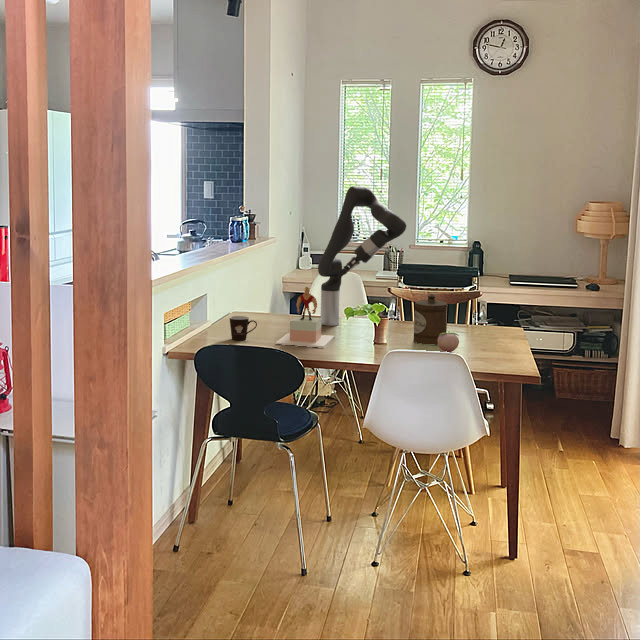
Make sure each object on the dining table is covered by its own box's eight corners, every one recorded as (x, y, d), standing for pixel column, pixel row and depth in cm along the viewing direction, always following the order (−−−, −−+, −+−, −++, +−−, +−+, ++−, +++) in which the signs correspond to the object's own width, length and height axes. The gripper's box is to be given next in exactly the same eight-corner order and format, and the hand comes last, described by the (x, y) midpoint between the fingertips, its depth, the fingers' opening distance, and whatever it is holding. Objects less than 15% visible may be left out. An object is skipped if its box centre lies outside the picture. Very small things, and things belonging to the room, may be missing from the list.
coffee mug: (226, 340, 363) (226, 318, 361) (234, 336, 371) (234, 315, 369) (249, 342, 359) (249, 320, 357) (257, 339, 367) (257, 317, 365)
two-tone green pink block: (288, 334, 377) (288, 313, 375) (334, 338, 373) (335, 316, 371) (275, 344, 356) (275, 322, 354) (324, 348, 352) (324, 325, 350)
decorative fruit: (444, 356, 342) (445, 333, 340) (433, 352, 350) (435, 329, 348) (462, 354, 346) (464, 331, 344) (452, 350, 353) (453, 328, 352)
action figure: (295, 319, 361) (295, 286, 359) (296, 318, 365) (297, 285, 362) (316, 320, 360) (316, 287, 357) (317, 319, 363) (318, 286, 361)
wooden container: (410, 338, 377) (412, 291, 373) (441, 338, 378) (444, 291, 374) (416, 345, 362) (419, 296, 358) (449, 345, 364) (452, 297, 359)
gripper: (364, 242, 361) (338, 266, 366) (358, 245, 348) (332, 270, 352) (375, 254, 361) (349, 278, 366) (370, 258, 348) (343, 282, 352)
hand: (341, 274), depth 359 cm, fingers open, 8 cm apart
